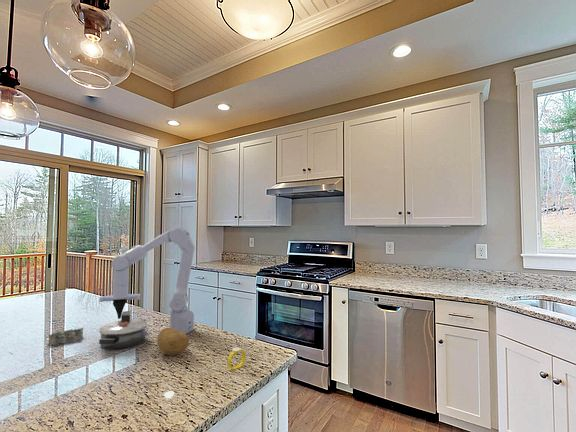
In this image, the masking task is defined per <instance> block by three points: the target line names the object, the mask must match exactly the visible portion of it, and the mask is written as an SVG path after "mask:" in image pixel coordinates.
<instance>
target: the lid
mask: <svg viewBox="0 0 576 432" xmlns="http://www.w3.org/2000/svg"><path fill="white" fill-rule="evenodd" d="M131 313H132V312H131V310H126V311H124V310H123V311H122V314H121V318H120V320H116V321H112V322H109V323H106V324H104V325H102V326H101V327H99V334H100V335H101V334H102V335H108V336H117V335H125V334H131V333H135V332H138V331H141V330H143V329H144V328H145V329H147V327H148V322H147V320H146V321H144V320H145V319H135V318H134V319H133V318H132V319H131V315H132V314H131Z"/></svg>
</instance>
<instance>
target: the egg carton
mask: <svg viewBox="0 0 576 432" xmlns="http://www.w3.org/2000/svg"><path fill="white" fill-rule="evenodd" d="M83 333H84V327H80V328H74V329H73V328H71V329H69V330H68V329H67V330H55V332H53V333H51V334H49V335H48V345H51V346H55V345H57V344H66V343H70V342H74V343H75V342H79V341H82V338H83V337H84V336H83V335H84V334H83Z"/></svg>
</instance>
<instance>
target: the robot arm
mask: <svg viewBox="0 0 576 432" xmlns="http://www.w3.org/2000/svg"><path fill="white" fill-rule="evenodd" d="M190 235H191V234H190V233H189V232H188V231H187V230H186V229H185V228H181V227H174V228H172V229H170V230H168V231H166V232H164V233H161V234H159V235H158V236H157V237H154V238H153V239H152V240H150V241H149V242H147V243H145V244H143V245H141V244H138V245H136V244H135V245H133V246H132V247H131V249H129V250H127V251H126V252H122V253H121V255H117V256H115V257H114V258H113V259H112V261H111V268H112V269H113V271H112V272H113V273H112V274H113V275H112V295H104V296H99V299H98V303H103V302H112V306H113V307H114V309H115V311H116V315H117V319H118V320H119V319H120V320H121V316H122V313H123V312H124V308H125V305H126V303H127V302H128V301H131V300H132V301H133V300H140V299H141V293H129V277H130V269H129V268H130V266H131V265H135V263H137V262H139V261H141V260H142V259H144V258H146V257H147V255H148V253H149V252H150V251H152V250H153V249H156V248H157V247H158V246H160V245H162V244H164V243H170V242H171V243H174V244H175V245H177V246H178V247H179V249H180V250H181V251H182V252H181V259H180V262H179V263H180V264H179V270H178V274H177V278H176V284H175V289H174V292H173V295H172V298H171V299H170V301H169V308H170V309H169V328H174V329H177V330H179V331H182V332H183V333H185V334H186V335H187V334H188V333H190V332H192V331H194V330H196V329H195V325H194V324H195V314H194V312H193V311H191V310H189V307H188V306H187V303H188V301H189V297H188V286H189V280H190V274H191V269H192V264H193V260H194V259H193V258H194V255H195V254H194V253H195V249H196V247H195V244H194V242H193V240H192V239H191V236H190Z"/></svg>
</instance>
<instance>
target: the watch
mask: <svg viewBox="0 0 576 432" xmlns="http://www.w3.org/2000/svg"><path fill="white" fill-rule="evenodd" d="M239 353H241V360H240V362H239V364H238V365H235V366H232V364H231V363H232V359H233V356H234V355H235V354H239ZM245 361H246V353H245V351H244V350H242V348H241V347H239V346H237V347H233V348H232V349H231V352H230V353H229V355H228V357H227V366H228V368H229V369H231V370H233V371H236V370H238V369H240V368H242V367H243V365H244V363H245Z"/></svg>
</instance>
